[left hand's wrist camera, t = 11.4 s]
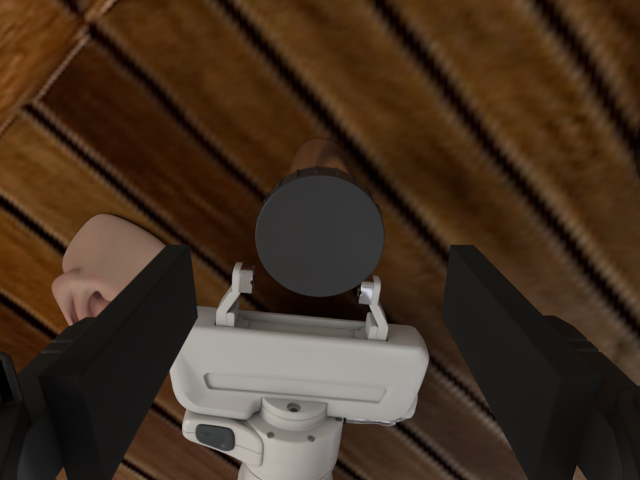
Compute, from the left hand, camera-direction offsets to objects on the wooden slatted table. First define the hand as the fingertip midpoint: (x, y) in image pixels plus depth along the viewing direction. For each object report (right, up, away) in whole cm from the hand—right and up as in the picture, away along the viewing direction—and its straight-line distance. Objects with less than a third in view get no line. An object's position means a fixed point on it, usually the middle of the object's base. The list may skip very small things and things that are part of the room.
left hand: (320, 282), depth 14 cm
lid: (0, +2, +4) cm, 5 cm away
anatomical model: (-18, -3, +24) cm, 30 cm away
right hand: (-1, -1, +17) cm, 17 cm away
